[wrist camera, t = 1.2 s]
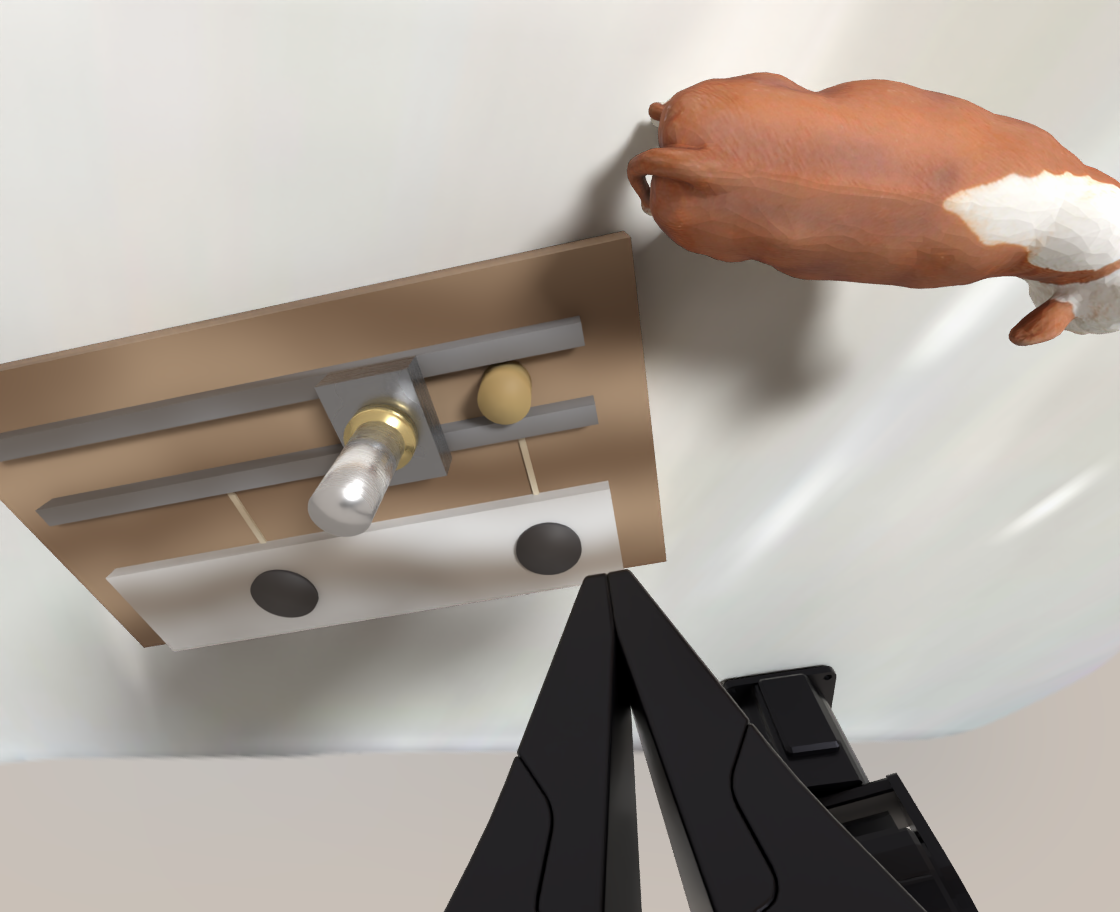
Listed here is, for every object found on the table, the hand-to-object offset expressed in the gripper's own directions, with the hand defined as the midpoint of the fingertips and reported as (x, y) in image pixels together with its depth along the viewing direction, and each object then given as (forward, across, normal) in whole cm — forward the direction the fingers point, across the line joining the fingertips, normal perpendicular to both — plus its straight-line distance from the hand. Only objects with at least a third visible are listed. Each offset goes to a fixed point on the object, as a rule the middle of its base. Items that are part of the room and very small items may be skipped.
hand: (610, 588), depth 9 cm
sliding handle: (+9, +6, 0) cm, 11 cm away
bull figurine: (+12, -8, -4) cm, 15 cm away
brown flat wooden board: (+12, +10, +3) cm, 16 cm away
